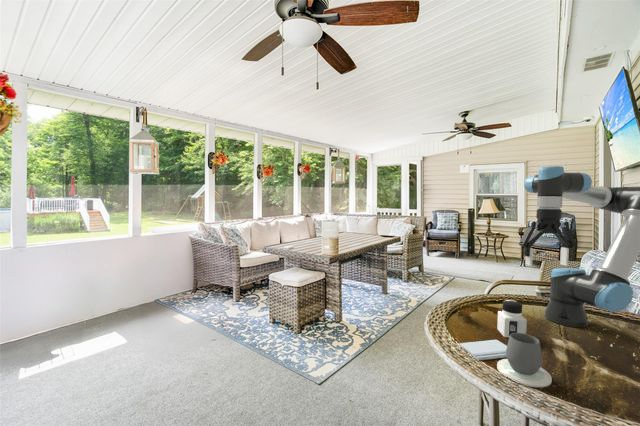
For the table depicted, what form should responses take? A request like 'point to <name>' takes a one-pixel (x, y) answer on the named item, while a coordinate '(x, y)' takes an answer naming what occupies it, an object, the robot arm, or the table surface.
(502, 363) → the saucer
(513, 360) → the cup
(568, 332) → the table surface
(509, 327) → the container
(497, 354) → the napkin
